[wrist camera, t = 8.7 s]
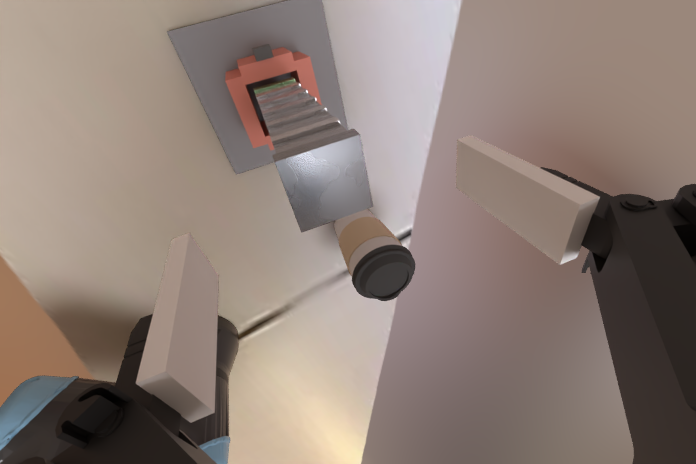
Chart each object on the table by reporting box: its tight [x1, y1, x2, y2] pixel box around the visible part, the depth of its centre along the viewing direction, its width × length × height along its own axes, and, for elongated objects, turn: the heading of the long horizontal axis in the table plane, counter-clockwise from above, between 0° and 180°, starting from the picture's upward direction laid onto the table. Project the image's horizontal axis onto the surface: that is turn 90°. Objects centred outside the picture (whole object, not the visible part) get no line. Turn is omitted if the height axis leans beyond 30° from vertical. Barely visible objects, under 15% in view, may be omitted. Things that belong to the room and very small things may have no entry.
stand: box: [167, 0, 348, 174], centre depth 34 cm, size 16×16×7 cm
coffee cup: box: [334, 209, 415, 301], centre depth 46 cm, size 9×9×15 cm
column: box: [253, 77, 373, 232], centre depth 23 cm, size 4×4×19 cm
